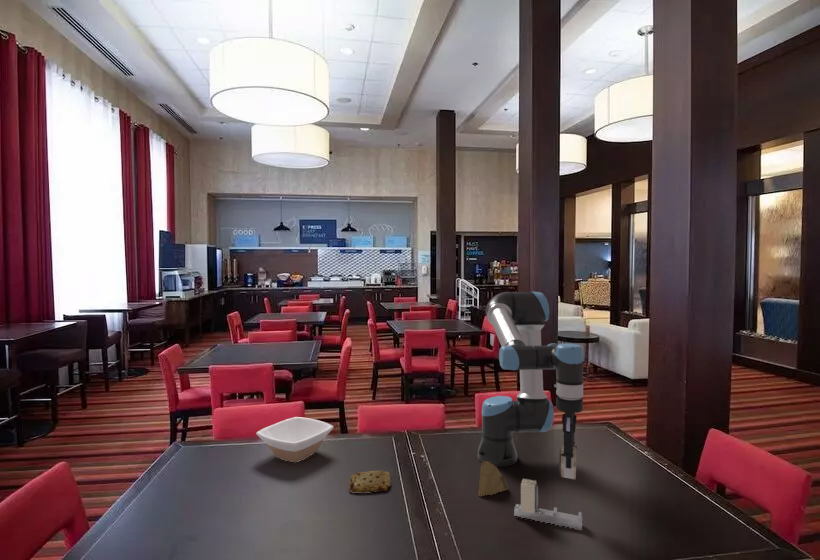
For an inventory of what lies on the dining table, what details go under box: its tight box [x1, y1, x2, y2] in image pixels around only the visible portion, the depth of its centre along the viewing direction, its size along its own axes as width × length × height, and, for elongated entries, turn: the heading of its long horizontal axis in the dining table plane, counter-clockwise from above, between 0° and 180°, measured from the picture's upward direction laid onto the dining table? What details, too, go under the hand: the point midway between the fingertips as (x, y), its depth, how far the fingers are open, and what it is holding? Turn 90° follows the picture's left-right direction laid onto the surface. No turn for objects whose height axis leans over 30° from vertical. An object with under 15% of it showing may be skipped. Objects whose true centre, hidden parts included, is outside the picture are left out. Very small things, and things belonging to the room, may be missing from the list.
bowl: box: [256, 416, 334, 462], centre depth 182 cm, size 24×25×11 cm
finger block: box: [558, 444, 577, 480], centre depth 137 cm, size 4×4×8 cm
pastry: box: [348, 470, 392, 492], centre depth 159 cm, size 17×17×3 cm
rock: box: [477, 461, 509, 498], centre depth 152 cm, size 11×9×10 cm
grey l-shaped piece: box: [513, 478, 583, 531], centre depth 135 cm, size 19×4×10 cm, turn 68°
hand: (569, 474), depth 137 cm, fingers closed on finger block, 4 cm apart
